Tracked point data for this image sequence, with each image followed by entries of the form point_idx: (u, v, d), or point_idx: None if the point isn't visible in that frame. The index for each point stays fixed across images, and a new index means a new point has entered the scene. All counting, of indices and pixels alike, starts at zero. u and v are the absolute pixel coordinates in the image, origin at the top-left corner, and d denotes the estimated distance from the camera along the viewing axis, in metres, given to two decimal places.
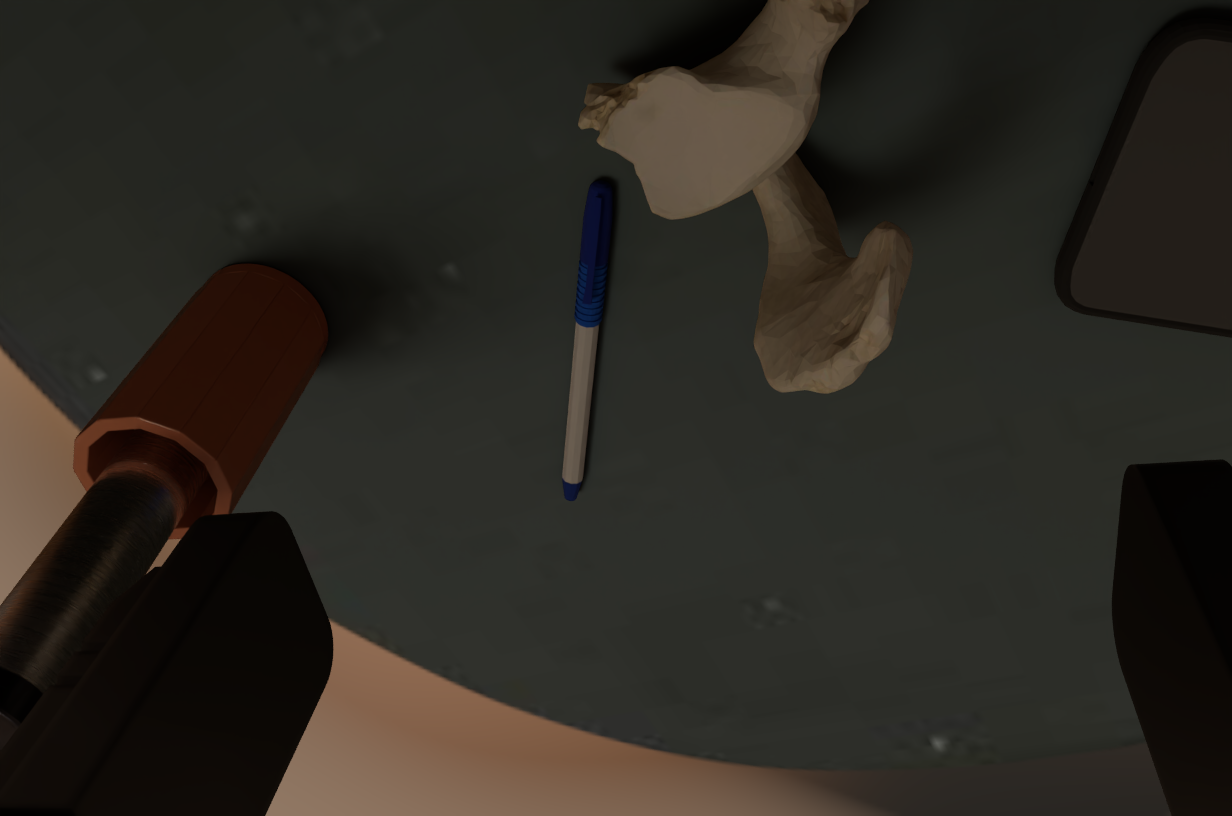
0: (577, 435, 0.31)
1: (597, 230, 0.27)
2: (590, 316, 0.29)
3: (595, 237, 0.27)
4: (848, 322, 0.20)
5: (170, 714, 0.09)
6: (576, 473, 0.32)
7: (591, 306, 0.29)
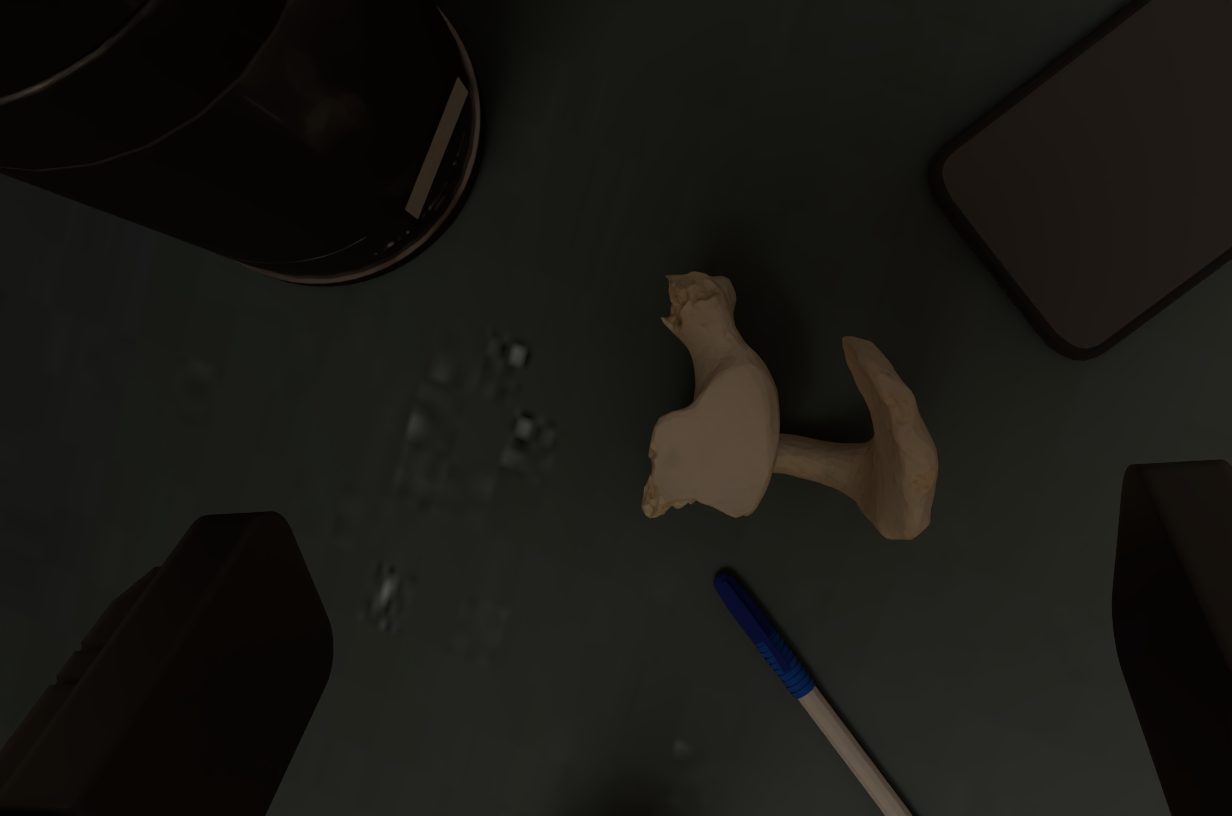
0: (890, 802, 0.30)
1: (743, 605, 0.30)
2: (801, 681, 0.30)
3: (746, 611, 0.30)
4: (888, 422, 0.24)
5: (170, 714, 0.09)
6: None
7: (794, 672, 0.30)
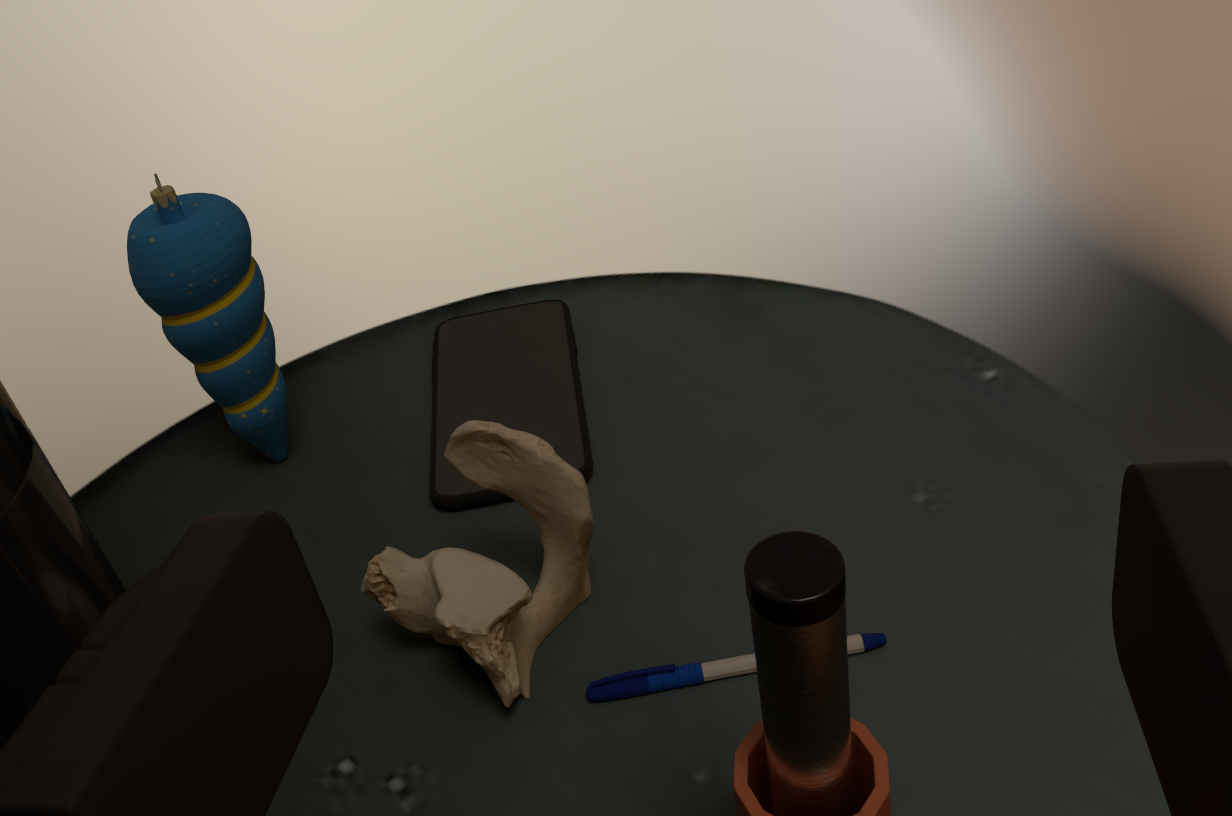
0: None
1: (612, 676, 0.38)
2: (690, 666, 0.38)
3: (618, 675, 0.37)
4: (503, 453, 0.38)
5: (170, 714, 0.09)
6: (848, 636, 0.38)
7: (681, 667, 0.38)
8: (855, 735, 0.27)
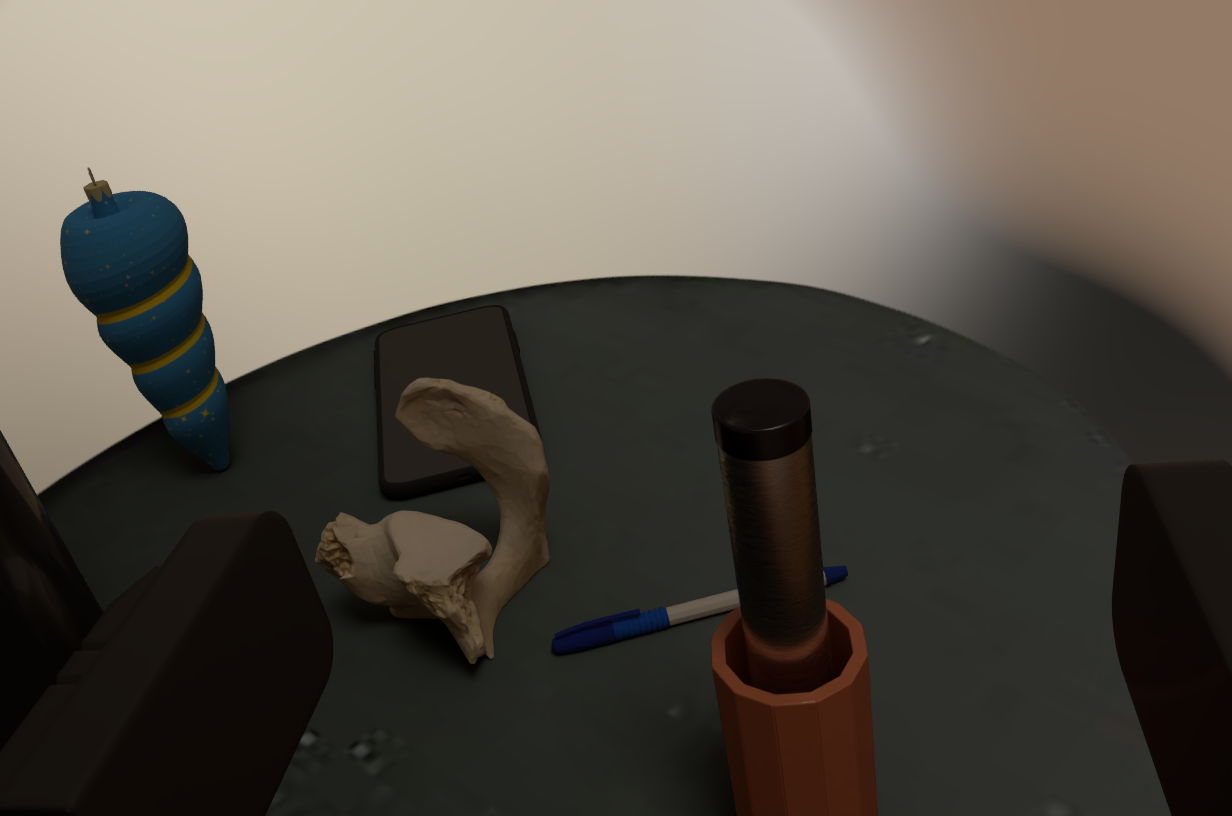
0: None
1: (577, 625, 0.37)
2: (655, 610, 0.37)
3: (583, 624, 0.37)
4: (455, 410, 0.38)
5: (170, 714, 0.09)
6: None
7: (646, 613, 0.37)
8: (828, 612, 0.27)
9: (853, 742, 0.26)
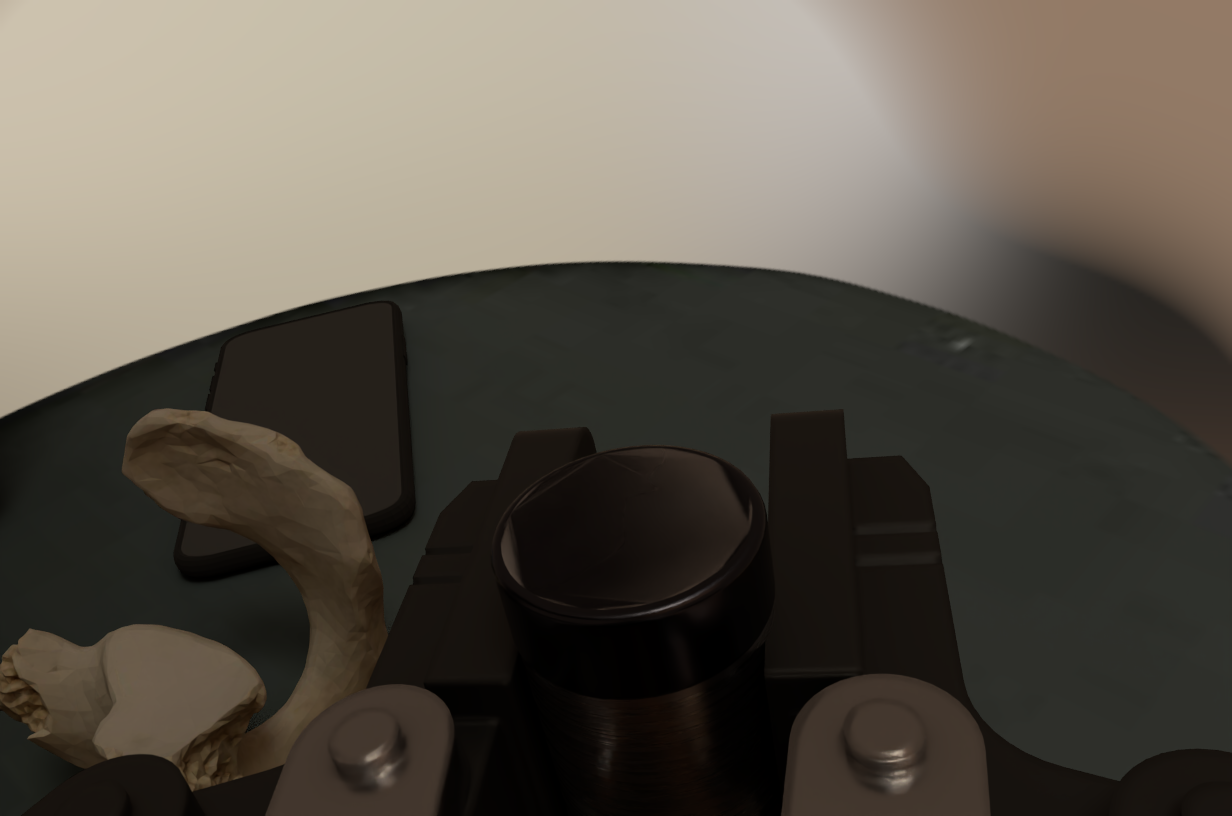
0: None
1: None
2: None
3: None
4: (219, 461, 0.23)
5: None
6: None
7: None
8: None
9: None
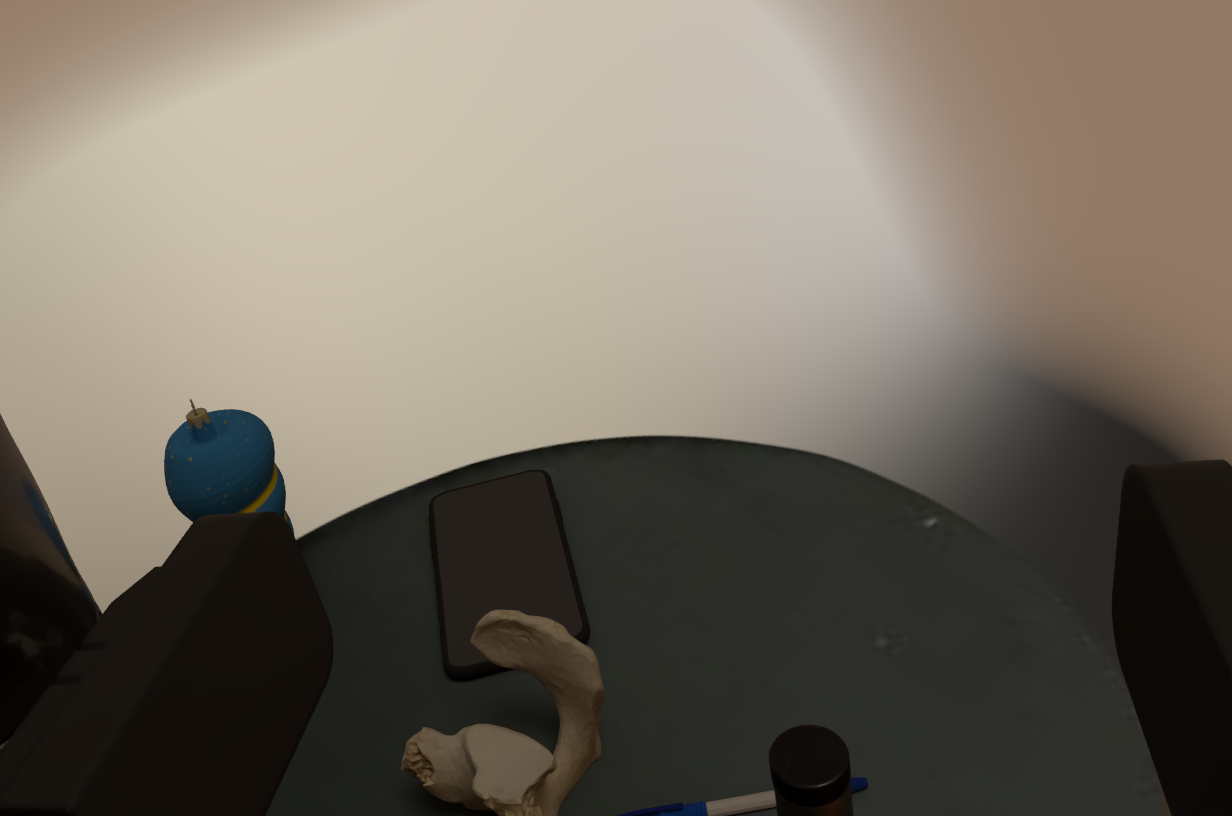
0: None
1: (628, 813, 0.43)
2: (696, 805, 0.43)
3: (633, 812, 0.43)
4: (522, 636, 0.43)
5: (170, 714, 0.09)
6: None
7: (688, 806, 0.43)
8: None
9: None
